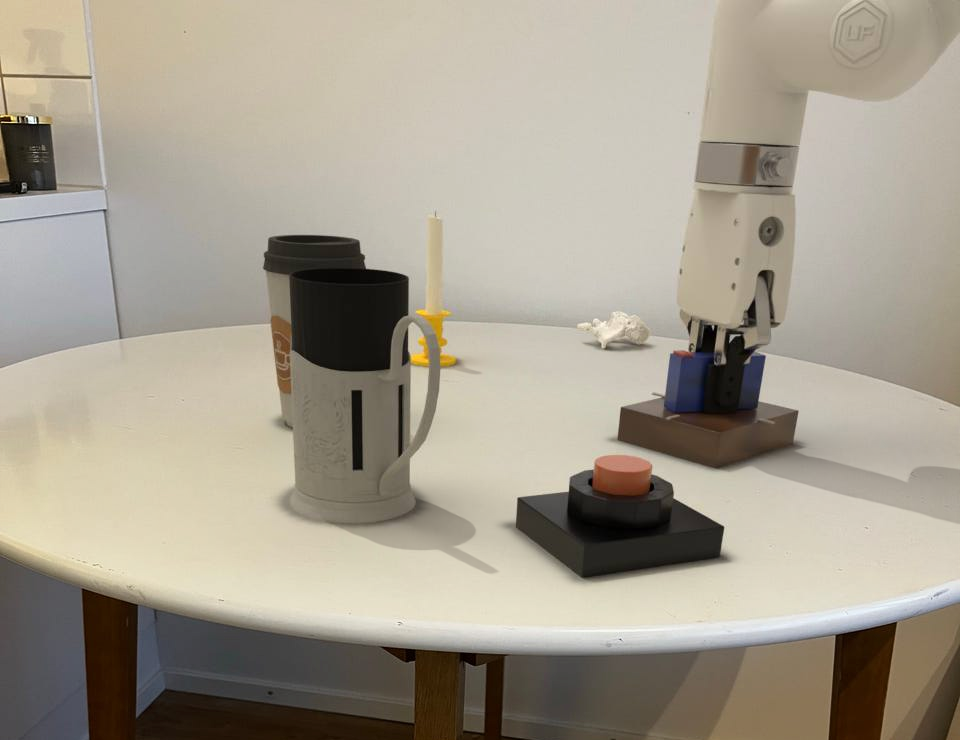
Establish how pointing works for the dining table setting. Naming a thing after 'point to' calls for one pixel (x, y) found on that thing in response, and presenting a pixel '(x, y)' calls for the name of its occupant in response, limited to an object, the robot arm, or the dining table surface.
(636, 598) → the dining table surface
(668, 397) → the blue battery-like brick
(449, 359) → the candle
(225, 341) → the dining table surface
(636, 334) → the vertebra bone
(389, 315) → the glass holder
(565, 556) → the button box
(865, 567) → the dining table surface
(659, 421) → the brown flat base
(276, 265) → the coffee cup
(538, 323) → the dining table surface
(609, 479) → the button
